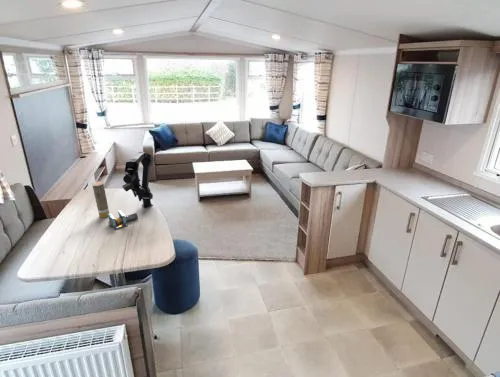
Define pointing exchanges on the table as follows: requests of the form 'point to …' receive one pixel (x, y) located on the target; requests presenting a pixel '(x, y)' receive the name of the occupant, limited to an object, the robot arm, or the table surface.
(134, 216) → the tube
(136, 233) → the table surface
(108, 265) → the table surface
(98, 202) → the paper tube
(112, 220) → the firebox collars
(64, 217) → the table surface
